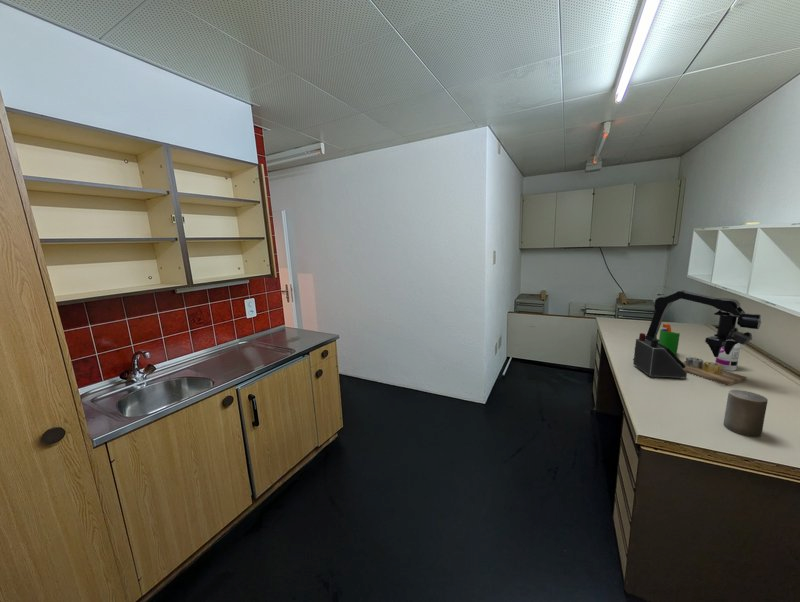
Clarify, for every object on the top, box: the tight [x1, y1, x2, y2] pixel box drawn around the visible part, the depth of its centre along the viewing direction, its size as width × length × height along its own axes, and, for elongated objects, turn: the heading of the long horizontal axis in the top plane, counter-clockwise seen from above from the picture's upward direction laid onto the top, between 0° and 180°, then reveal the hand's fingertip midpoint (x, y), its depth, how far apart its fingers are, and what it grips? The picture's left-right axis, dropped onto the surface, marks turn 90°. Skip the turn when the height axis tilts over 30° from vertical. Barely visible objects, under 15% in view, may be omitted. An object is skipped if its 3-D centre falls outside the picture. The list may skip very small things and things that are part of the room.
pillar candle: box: [723, 389, 768, 438], centre depth 113 cm, size 10×10×15 cm
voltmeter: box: [632, 332, 688, 380], centre depth 163 cm, size 16×16×20 cm
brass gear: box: [702, 361, 722, 374], centre depth 160 cm, size 7×7×4 cm
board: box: [681, 357, 748, 386], centre depth 161 cm, size 16×24×6 cm, turn 20°
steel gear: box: [685, 356, 705, 369], centre depth 167 cm, size 7×7×4 cm
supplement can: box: [714, 343, 741, 372], centre depth 166 cm, size 8×8×15 cm
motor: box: [658, 323, 681, 356], centre depth 186 cm, size 10×9×20 cm
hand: (721, 355), depth 151 cm, fingers open, 9 cm apart
